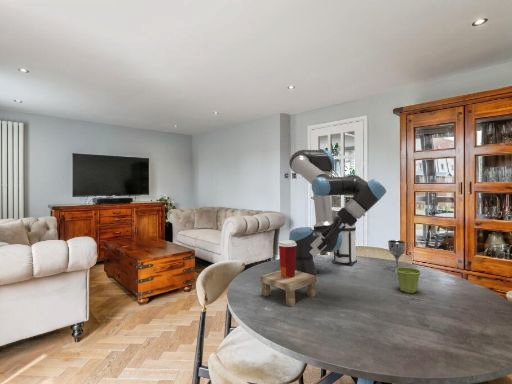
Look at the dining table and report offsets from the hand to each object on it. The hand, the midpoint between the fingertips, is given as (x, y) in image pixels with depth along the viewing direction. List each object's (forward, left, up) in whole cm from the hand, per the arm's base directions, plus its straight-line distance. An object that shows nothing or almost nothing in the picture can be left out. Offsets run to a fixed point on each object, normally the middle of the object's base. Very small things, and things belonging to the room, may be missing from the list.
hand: (312, 250), depth 115 cm
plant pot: (+24, +33, -19) cm, 45 cm away
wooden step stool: (-8, -6, -19) cm, 21 cm away
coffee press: (-17, +53, -19) cm, 59 cm away
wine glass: (+9, +60, -19) cm, 64 cm away
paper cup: (-8, -6, -11) cm, 15 cm away
